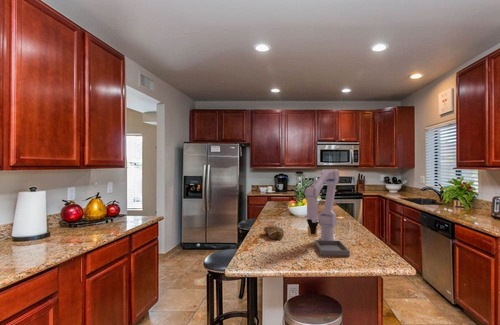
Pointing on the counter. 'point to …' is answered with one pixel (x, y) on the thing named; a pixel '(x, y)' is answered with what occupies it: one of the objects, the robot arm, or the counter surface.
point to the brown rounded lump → (274, 232)
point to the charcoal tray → (332, 248)
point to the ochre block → (312, 234)
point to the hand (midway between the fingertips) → (312, 233)
